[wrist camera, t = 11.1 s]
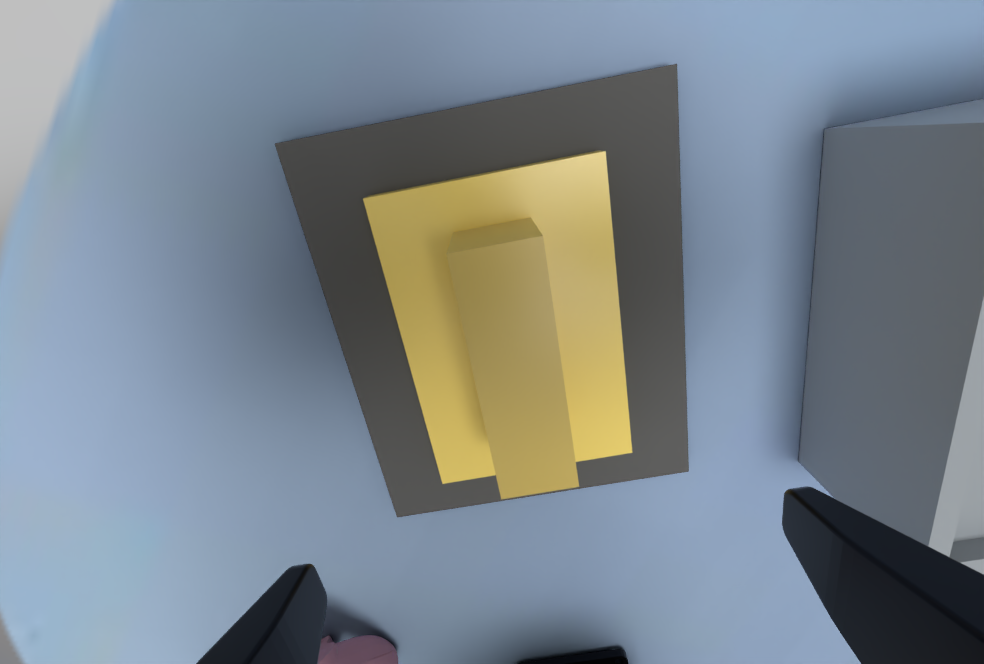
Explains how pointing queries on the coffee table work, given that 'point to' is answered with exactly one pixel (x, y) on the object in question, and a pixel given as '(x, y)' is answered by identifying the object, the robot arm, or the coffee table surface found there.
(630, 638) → the coffee table surface
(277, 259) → the coffee table surface
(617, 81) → the mat
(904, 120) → the box
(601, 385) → the lid
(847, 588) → the robot arm
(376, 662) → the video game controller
